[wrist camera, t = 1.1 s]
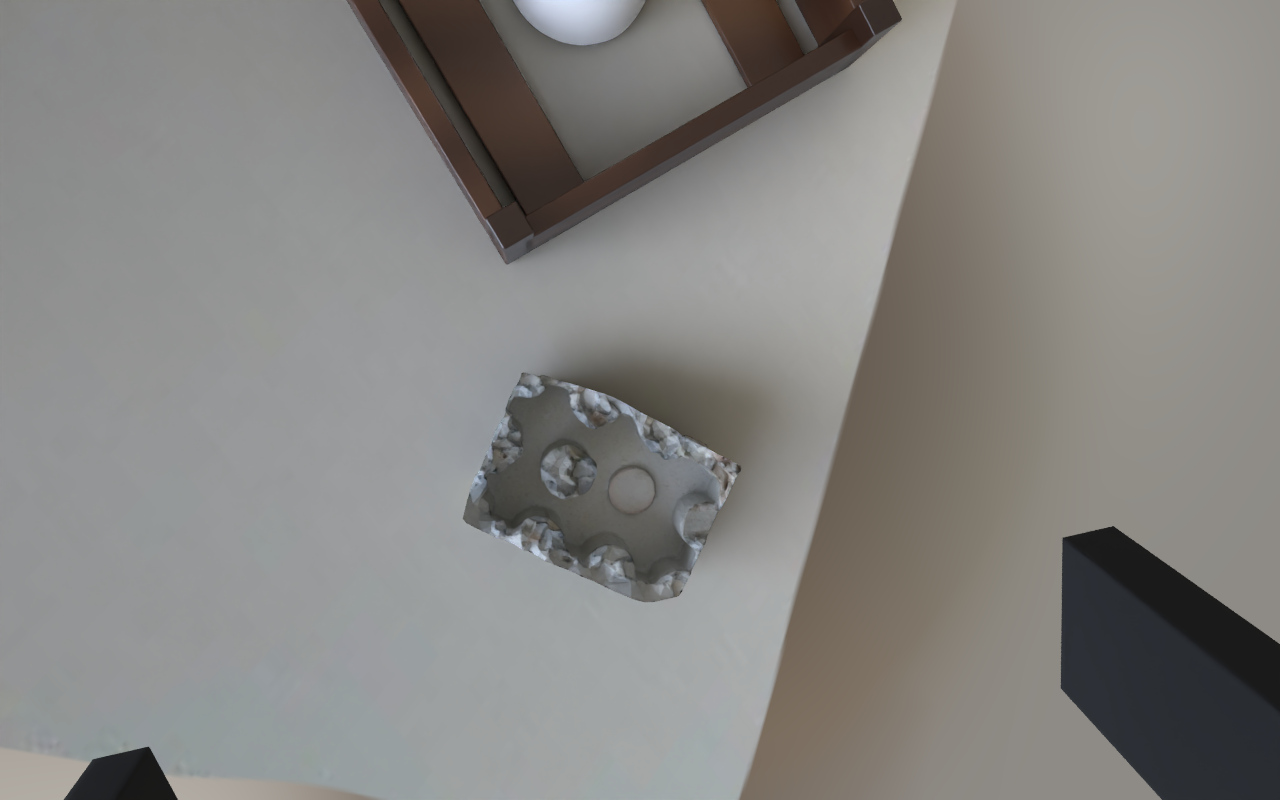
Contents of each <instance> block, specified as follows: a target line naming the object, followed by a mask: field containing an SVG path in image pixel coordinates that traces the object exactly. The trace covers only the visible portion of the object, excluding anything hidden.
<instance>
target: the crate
mask: <svg viewBox="0 0 1280 800" xmlns="http://www.w3.org/2000/svg"><path fill="white" fill-rule="evenodd" d="M398 1H399V3H400V5H401V6H402V8H403V10H404V11H405V13H406V15H407V17H408V18H409V20H410V22H411V23H412V25H413V27H414V28H415V30H416V32H417V33H418V35H419V37H420V38H421V40H422V42H423V43H424V45H425V47H426V48H427V50H428V52H429V53H430V55H431V57H432V59H433V60H434V62H435V64H436V65H437V67H438V69H439V70H440V72H441V74H442V75H443V77H444V79H445V80H446V82H447V84H448V85H449V87H450V89H451V90H452V92H453V94H454V95H455V97H456V99H457V101H458V102H459V104H460V106H461V107H462V109H463V111H464V112H465V114H466V116H467V117H468V119H469V121H470V122H471V124H472V126H473V127H474V129H475V131H476V132H477V134H478V136H479V138H480V139H481V141H482V143H483V144H484V146H485V148H486V149H487V151H488V153H489V154H490V156H491V158H492V159H493V161H494V163H495V164H496V166H497V168H498V169H499V171H500V173H501V174H502V176H503V178H504V180H505V181H506V183H507V185H508V186H509V188H510V190H511V191H512V193H513V195H514V196H515V198H516V200H517V201H518V203H519V205H520V206H521V208H522V210H523V211H524V213H525V215H526V216H525V215H524V213H523V212H522V210H521V208H520V207H519V205H518V203H517V202H516V201H515V202H512V203H510V204H509V205H507V206H505V207H503V208H502V206H501V204H500V203H499V201H498V199H497V198H496V196H495V194H494V193H493V191H492V189H491V188H490V186H489V184H488V183H487V181H486V179H485V178H484V176H483V174H482V173H481V171H480V169H479V167H478V166H477V164H476V162H475V161H474V159H473V157H472V156H471V154H470V152H469V151H468V149H467V147H466V146H465V144H464V142H463V141H462V139H461V137H460V136H459V134H458V132H457V131H456V129H455V127H454V126H453V124H452V122H451V121H450V119H449V117H448V116H447V114H446V112H445V111H444V109H443V107H442V106H441V104H440V102H439V101H438V99H437V97H436V96H435V94H434V92H433V91H432V89H431V87H430V86H429V84H428V82H427V81H426V79H425V77H424V76H423V74H422V72H421V71H420V69H419V67H418V66H417V64H416V62H415V61H414V59H413V57H412V56H411V54H410V52H409V51H408V49H407V47H406V46H405V44H404V42H403V41H402V39H401V37H400V36H399V34H398V32H397V31H396V29H395V27H394V26H393V24H392V22H391V21H390V19H389V17H388V16H387V14H386V12H385V11H384V9H383V7H382V6H381V4H380V2H379V0H347V2H348V4H349V5H350V7H351V9H352V10H353V12H354V14H355V15H356V17H357V19H358V20H359V22H360V24H361V25H362V27H363V28H364V30H365V32H366V33H367V35H368V37H369V38H370V40H371V42H372V43H373V45H374V47H375V48H376V50H377V52H378V53H379V55H380V57H381V58H382V60H383V62H384V63H385V65H386V66H387V68H388V70H389V71H390V73H391V75H392V76H393V78H394V80H395V81H396V83H397V85H398V86H399V88H400V90H401V91H402V93H403V95H404V96H405V98H406V100H407V101H408V103H409V105H410V106H411V108H412V109H413V111H414V113H415V114H416V116H417V118H418V119H419V121H420V123H421V124H422V126H423V128H424V129H425V131H426V133H427V134H428V136H429V138H430V139H431V141H432V143H433V144H434V146H435V147H436V149H437V151H438V152H439V154H440V156H441V157H442V159H443V161H444V162H445V164H446V166H447V167H448V169H449V171H450V172H451V174H452V176H453V177H454V179H455V181H456V182H457V184H458V186H459V187H460V189H461V190H462V192H463V194H464V195H465V197H466V199H467V200H468V202H469V204H470V205H471V207H472V209H473V210H474V212H475V214H476V215H477V217H478V219H479V220H480V222H481V224H482V225H483V227H484V229H485V230H486V232H487V233H488V235H489V237H490V238H491V240H492V242H493V243H494V245H495V247H496V248H497V250H498V252H499V253H500V255H501V257H502V258H503V260H504V262H505V263H506V264H509V263H511V262H513V261H514V260H516V259H518V258H520V257H521V256H523V255H525V254H526V253H528V252H530V251H532V250H533V249H535V248H537V247H538V246H540V245H542V244H544V243H545V242H547V241H549V240H550V239H552V238H554V237H556V236H557V235H559V234H561V233H563V232H564V231H566V230H568V229H569V228H571V227H573V226H575V225H576V224H578V223H580V222H582V221H583V220H585V219H587V218H588V217H590V216H592V215H594V214H595V213H597V212H599V211H600V210H602V209H604V208H606V207H607V206H609V205H611V204H613V203H614V202H616V201H618V200H619V199H621V198H623V197H625V196H626V195H628V194H630V193H631V192H633V191H635V190H637V189H638V188H640V187H642V186H644V185H645V184H647V183H649V182H650V181H652V180H654V179H656V178H657V177H659V176H661V175H663V174H664V173H666V172H668V171H669V170H671V169H673V168H675V167H676V166H678V165H680V164H681V163H683V162H685V161H687V160H688V159H690V158H692V157H694V156H695V155H697V154H699V153H700V152H702V151H704V150H706V149H707V148H709V147H711V146H712V145H714V144H716V143H718V142H719V141H721V140H723V139H725V138H726V137H728V136H730V135H731V134H733V133H735V132H737V131H738V130H740V129H742V128H744V127H745V126H747V125H749V124H750V123H752V122H754V121H756V120H757V119H759V118H761V117H762V116H764V115H766V114H768V113H769V112H771V111H773V110H775V109H776V108H778V107H780V106H781V105H783V104H785V103H787V102H788V101H790V100H792V99H793V98H795V97H797V96H799V95H800V94H802V93H804V92H806V91H807V90H809V89H811V88H812V87H814V86H816V85H818V84H819V83H821V82H823V81H825V80H826V79H828V78H830V77H832V76H833V75H835V74H837V73H838V72H840V71H842V70H844V69H845V68H847V67H849V66H850V65H851V64H852V63H853V62H854V61H856V60H857V59H858V58H859V57H860V56H861V55H862V54H864V53H865V52H866V51H867V50H868V49H869V48H870V47H872V46H873V45H874V44H875V43H876V42H877V41H878V40H880V39H881V38H882V37H883V36H884V35H885V34H886V33H888V32H889V31H890V30H891V29H892V28H893V27H894V26H896V25H897V24H898V23H899V22H900V21H901V20H902V18H901V16H900V14H899V12H898V10H897V8H896V6H895V4H894V2H893V0H795V1H796V3H797V5H798V7H799V9H800V11H801V12H802V14H803V16H804V18H805V20H806V22H807V24H808V26H809V28H810V30H811V32H812V34H813V36H814V37H815V39H816V41H817V43H818V45H819V46H818V47H817V48H816V49H815V50H813V51H811V52H809V53H808V54H806V55H804V54H803V52H802V50H801V48H800V46H799V44H798V42H797V40H796V38H795V36H794V34H793V33H792V31H791V29H790V27H789V25H788V23H787V21H786V19H785V17H784V15H783V13H782V11H781V10H780V8H779V6H778V4H777V2H776V0H701V1H702V3H703V4H704V6H705V8H706V10H707V12H708V14H709V16H710V17H711V19H712V21H713V23H714V25H715V27H716V29H717V30H718V32H719V34H720V36H721V38H722V40H723V42H724V43H725V45H726V47H727V49H728V51H729V53H730V55H731V56H732V58H733V60H734V62H735V64H736V66H737V68H738V70H739V71H740V73H741V75H742V77H743V79H744V81H745V83H746V84H747V86H748V88H747V89H745V90H743V91H742V92H740V93H738V94H736V95H735V96H733V97H731V98H729V99H728V100H726V101H724V102H722V103H721V104H719V105H717V106H715V107H714V108H712V109H710V110H709V111H707V112H705V113H703V114H702V115H700V116H698V117H696V118H695V119H693V120H691V121H689V122H688V123H686V124H684V125H682V126H681V127H679V128H677V129H675V130H674V131H672V132H670V133H669V134H667V135H665V136H663V137H662V138H660V139H658V140H656V141H655V142H653V143H651V144H649V145H648V146H646V147H644V148H642V149H641V150H639V151H637V152H635V153H634V154H632V155H630V156H628V157H627V158H625V159H623V160H622V161H620V162H618V163H616V164H615V165H613V166H611V167H609V168H608V169H606V170H604V171H602V172H601V173H599V174H597V175H595V176H594V177H592V178H590V179H588V180H587V181H585V182H584V181H583V180H582V178H581V176H580V175H579V173H578V171H577V169H576V168H575V166H574V164H573V163H572V161H571V159H570V157H569V156H568V154H567V152H566V150H565V149H564V147H563V145H562V144H561V142H560V140H559V138H558V137H557V135H556V133H555V131H554V130H553V128H552V126H551V125H550V123H549V121H548V119H547V118H546V116H545V114H544V112H543V111H542V109H541V107H540V106H539V104H538V102H537V100H536V99H535V97H534V95H533V94H532V92H531V90H530V88H529V87H528V85H527V83H526V81H525V80H524V78H523V76H522V75H521V73H520V71H519V69H518V68H517V66H516V64H515V62H514V61H513V59H512V57H511V56H510V54H509V52H508V50H507V49H506V47H505V45H504V43H503V42H502V40H501V38H500V37H499V35H498V33H497V31H496V30H495V28H494V26H493V24H492V23H491V21H490V19H489V18H488V16H487V14H486V12H485V11H484V9H483V7H482V6H481V4H480V2H479V0H398Z"/></svg>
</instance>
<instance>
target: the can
mask: <svg viewBox="0 0 1280 800" xmlns="http://www.w3.org/2000/svg"><path fill="white" fill-rule="evenodd" d="M513 1H514V3H515V5H516V6H517V8H518V9H519V11H520V12H521V14H522V15H523V16H524V17H525V19H526V20H527V21H528V22H529V23H530V24H531V25H532V26H534V27H535V28H536V29H537V30H539V31H540V32H542V33H543V34H545V35H547V36H548V37H550V38H552V39H555V40H557V41H560V42H563V43H567V44H573V45H592V44H598V43H602V42H605V41H608V40H611V39H613V38H615V37H617V36H618V35H620V34H621V33H622V32H623V31H625V30H626V29H627V28H628V27H629V26H630V25H631V23H632V22H633V21H634V20H635V18H636V17H637V15H638V14H639V12H640V10H641V9H642V7H643V5H644V3H645V0H513Z"/></svg>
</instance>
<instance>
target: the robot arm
mask: <svg viewBox="0 0 1280 800" xmlns="http://www.w3.org/2000/svg"><path fill="white" fill-rule="evenodd" d="M1062 555H1063V556H1062V637H1061V638H1062V639H1061V640H1062V642H1061V643H1062V645H1061V689H1062V690H1063V691H1064V692H1065V693H1066V694H1067V696H1068V697H1069V698H1070V699H1071V700H1072V701H1073V702H1074V703H1075V704H1076V705H1077V707H1078V708H1079V709H1080V710H1081V711H1082V712H1083V713H1084V714H1085V715H1086V716H1087V718H1088V719H1089V720H1090V721H1091V722H1092V723H1093V724H1094V725H1095V726H1096V727H1097V729H1098V730H1099V731H1100V732H1101V733H1102V734H1103V735H1104V736H1105V737H1106V738H1107V740H1108V741H1109V742H1110V743H1111V744H1112V745H1113V746H1114V747H1115V748H1116V749H1117V751H1118V752H1119V753H1120V754H1121V755H1122V756H1123V757H1124V758H1125V759H1126V760H1127V762H1128V763H1129V764H1130V765H1131V766H1132V767H1133V768H1134V769H1135V770H1136V771H1137V773H1138V774H1139V775H1140V776H1141V777H1142V778H1143V779H1144V780H1145V781H1146V782H1147V783H1148V785H1149V786H1150V787H1151V788H1152V789H1153V790H1154V791H1155V792H1156V793H1157V795H1158V796H1160V798H1161V799H1162V800H1280V644H1279V643H1277V642H1276V641H1275V640H1273V639H1272V638H1270V637H1269V636H1268V635H1266V634H1265V633H1263V632H1262V631H1260V630H1259V629H1258V628H1256V627H1255V626H1253V625H1252V624H1250V623H1249V622H1248V621H1246V620H1245V619H1243V618H1242V617H1241V616H1239V615H1238V614H1236V613H1235V612H1234V611H1232V610H1231V609H1229V608H1228V607H1227V606H1225V605H1224V604H1222V603H1221V602H1220V601H1218V600H1217V599H1215V598H1214V597H1213V596H1211V595H1210V594H1208V593H1207V592H1205V591H1204V590H1202V589H1201V588H1200V587H1198V586H1197V585H1196V584H1194V583H1193V582H1191V581H1190V580H1188V579H1187V578H1186V577H1184V576H1183V575H1181V574H1180V573H1179V572H1177V571H1176V570H1174V569H1173V568H1172V567H1170V566H1169V565H1167V564H1166V563H1164V562H1163V561H1161V560H1160V559H1159V558H1158V557H1156V556H1155V555H1153V554H1152V553H1150V552H1149V551H1148V550H1146V549H1145V548H1143V547H1142V546H1141V545H1139V544H1138V543H1136V542H1135V541H1134V540H1132V539H1130V538H1129V537H1128V536H1126V535H1125V534H1124V533H1122V532H1121V531H1119V530H1118V529H1116V528H1115V527H1114V526H1112V527H1108V528H1104V529H1099V530H1095V531H1090V532H1086V533H1082V534H1077V535H1073V536H1069V537H1065V538H1063V553H1062ZM64 800H178V799H177V797H176V795H175V793H174V792H173V790H172V788H171V786H170V784H169V782H168V781H167V779H166V777H165V775H164V773H163V771H162V770H161V768H160V766H159V764H158V762H157V760H156V759H155V757H154V755H153V753H152V751H151V749H150V748H149V747H145V748H141V749H137V750H132V751H128V752H123V753H119V754H115V755H110V756H106V757H102V758H97V759H93V760H92V762H91V763H90V764H89V766H88V767H87V768H86V770H85V771H84V773H83V774H82V775H81V777H80V778H79V780H78V781H77V782H76V784H75V785H74V786H73V788H72V789H71V790H70V792H69V793H68V795H67V796H66V797H65V799H64Z"/></svg>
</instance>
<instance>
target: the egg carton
mask: <svg viewBox="0 0 1280 800" xmlns="http://www.w3.org/2000/svg"><path fill="white" fill-rule="evenodd" d="M740 471H741V467H740V466H739V465H737V464H736V463H734V462H732V461H731V460H729V459H727V458H725V457H722V456H720V455H718V454H716V453H715V452H713V451H711V450H709V449H708V447H707V445H706V444H703V443H702V442H699V441H697V440H695V439H693V438H692V437H689V436H687V435H684V436H683V435H681V434H679V433H678V432H677V431H676V430H674V429H673V428H671V427H669V426H667V425H665V424H663V423H661V422H659V421H657V420H654V419H652V418H651V417H649V416H647V415H645V414H643V413H641V412H640V411H638V410H636V409H634V408H633V407H631V406H629V405H627V404H625V403H624V402H622V401H620V400H618V399H615V398H613V397H611V396H609V395H606V394H604V393H600V392H597V391H594V390H591V389H587V388H584V387H581V386H577V385H574V384H570V383H566V382H562V381H558V380H555V379H553V378H550V377H548V376H545V375H541V376H536V375H531V374H527V373H522V374H521V378H520V380H519V382H518V384H517V386H516V387H515V388H514V389H513V392H512V394H511V396H510V398H509V401H508V404H507V407H506V413H505V416H504V418H503V420H502V421H501V423H500V424H499V426H498V428H497V430H496V432H495V434H494V437H493V441H492V444H491V446H490V448H489V449H488V452H487V454H486V456H485V459H484V461H483V464H482V467H481V469H480V471H479V473H477V475H476V477H475V479H474V481H473V484H472V487H471V491H470V494H469V497H468V500H467V504H466V508H465V512H464V517H463V519H464V521H465V522H466V523H467V524H469V525H471V526H473V527H475V528H477V529H479V530H481V531H483V532H486V533H488V534H490V535H492V536H494V537H496V538H499V539H502V540H505V541H507V542H510V543H512V544H514V545H516V546H518V547H520V548H521V549H522V550H526V551H529V552H531V553H533V554H535V555H537V556H538V557H540V558H542V559H543V560H545V561H547V562H549V563H552V564H554V565H557V566H559V567H562V568H565V569H567V570H569V571H572V572H574V573H576V574H578V575H580V576H582V577H585V578H587V579H590V580H593V581H595V582H597V583H599V584H601V585H603V586H605V587H607V588H609V589H611V590H613V591H616V592H618V593H620V594H622V595H625V596H627V597H629V598H632V599H635V600H639V601H642V602H655V601H660V600H664V599H668V598H673V597H677V596H679V595H680V593H681V592H682V590H683V588H684V586H685V584H686V582H687V580H688V578H689V576H690V574H691V571H692V568H693V566H694V564H695V562H696V560H697V557H698V555H699V553H700V551H701V550H702V548H703V546H704V544H705V542H706V538H707V534H708V531H709V530H710V528H711V525H712V523H713V521H714V519H715V517H716V515H717V512H718V511H719V510H720V509H721V507H722V506H723V504H724V502H725V500H726V499H727V496H728V494H729V492H730V490H731V488H732V485H733V483H734V481H735V479H736V477H737V475H738V473H739V472H740Z"/></svg>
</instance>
